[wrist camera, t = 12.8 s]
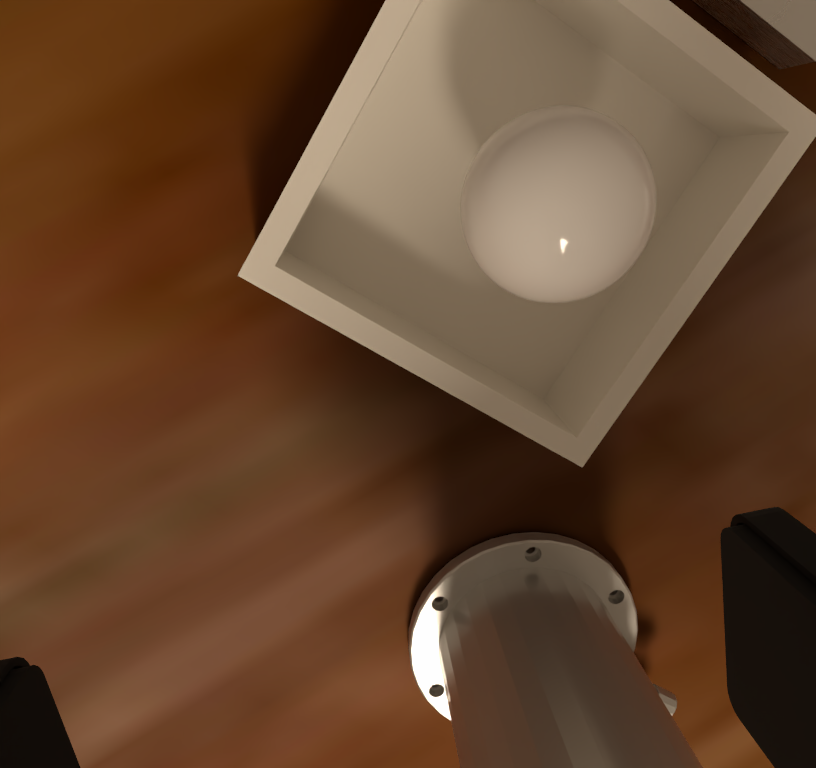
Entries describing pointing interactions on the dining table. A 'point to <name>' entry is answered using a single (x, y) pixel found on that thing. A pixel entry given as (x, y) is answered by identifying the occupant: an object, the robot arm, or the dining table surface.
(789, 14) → the socket collar
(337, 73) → the dining table surface
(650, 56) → the bin
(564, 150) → the lightbulb
